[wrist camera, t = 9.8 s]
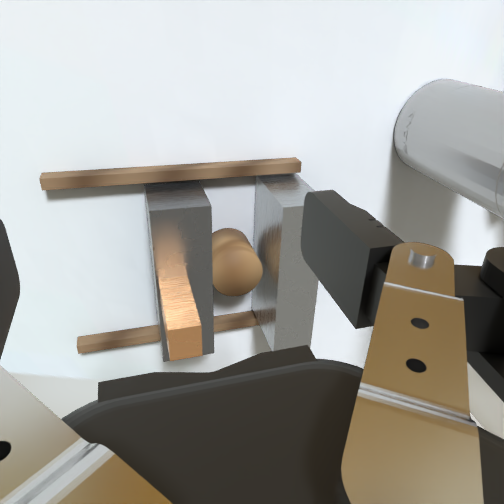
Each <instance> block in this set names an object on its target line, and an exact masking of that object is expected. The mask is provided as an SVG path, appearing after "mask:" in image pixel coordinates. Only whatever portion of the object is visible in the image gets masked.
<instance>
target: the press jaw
mask: <svg viewBox="0 0 504 504" xmlns="http://www.w3.org/2000/svg"><path fill="white" fill-rule="evenodd" d="M144 189H145V199H146V209H147V219H148V229H149V239H150V249H151V259H152V269H153V279H154V289H155V300H156V310H157V320H158V328H159V334H160V341H161V348H162V354H163V361H164V362H165V361H174V360H179V359H185V358H191V357H197V356H203V355H206V354H211V353H214V318H213V266H212V215H211V204H210V202H209V200H208V198H207V196H206V194H205V192H204V190H203V188H202V186H201V184H200V182H199V180H197V181H183V182H169V183H154V184H144Z"/></svg>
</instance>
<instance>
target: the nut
mask: <svg viewBox="0 0 504 504" xmlns="http://www.w3.org/2000/svg"><path fill="white" fill-rule="evenodd" d="M212 266H213V285H214V287H215V288H216V289H217V291H219V292H220V293H222V294H224V295H227V296H240V295H243V294H246V293H248V292H250V291H251V290H253V289H254V288H255V287H256V286H257V284H258V283H259V282H260V280H261V277H262V273H263V268H262V264H261V262H260V260H259V258H258V257H257V255H256V253H255V251H254V250H253V248H252V246H251V244H250V243H249V241H248V239H247V237H246V236H245V235H244V234H243V233H242V232H241V231H239V230H237V229H233V228H224V229H220V230H218V231H216V232H214V233H212Z"/></svg>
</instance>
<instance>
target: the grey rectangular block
mask: <svg viewBox="0 0 504 504" xmlns="http://www.w3.org/2000/svg"><path fill="white" fill-rule="evenodd" d="M313 191H314V190H313V189H312V188H311V187H310V186H309V185H308V184H307V183H306V182H305V181H303V180H302V179H301V178H300V177H299V176H298V175H297V174H296V173H284V174H270V175H256V192H255V222H254V251H255V253H256V255H257V257H258V258H259V260H260V262H261V264H262V268H263V273H262V277H261V280H260V282H259V283H258V284H257V286H256V287H255V288H254V289H253V290H252V309H253V312H254V314H255V316H256V318H257V320H258V322H259V325H260V327H261V329H262V331H263V333H264V335H265V338H266V340H267V342H268V344H269V346H270V348H271V351H276V350H281V349H287V348H292V347H298V346H303V345H308V346H309V348H310V345H311V337H312V329H313V321H314V313H315V305H316V297H317V289H318V281H319V279H318V278H317V277H316V275H315V274H314V273H313V271H312V270H311V269H310V267H309V266H308V265H307V263H306V262H305V260H304V258H303V256H302V252H301V230H302V219H303V208H304V199H305V196H306V194H307V193H308V192H313Z"/></svg>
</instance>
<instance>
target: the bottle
mask: <svg viewBox="0 0 504 504" xmlns="http://www.w3.org/2000/svg"><path fill="white" fill-rule="evenodd" d="M467 370H468V389H469V407H470V413H471V414H472V415H473V416H474V417H475V418H476V419H477V420H478V422H479V423H480V424H481V425H482V426H483V427H484V429H485V430H487V431H488V432H490V433H492V434H494V435H496V436H498V437H500V438H502V439H504V402H503V401H502V400H501V399H500V398H499V397H498V396H497V394H496V393H495V392H494V391H493V390H492V389H491V388H490V387H489V386H488V384H487V383H486V382H485V381H484V380H483V379H482V378H481V377H480V376H479V374H478V373H477V372H476V371H475V370H474V369H473V368H472V367H471V366H470V364H469V363H468V362H467Z"/></svg>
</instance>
